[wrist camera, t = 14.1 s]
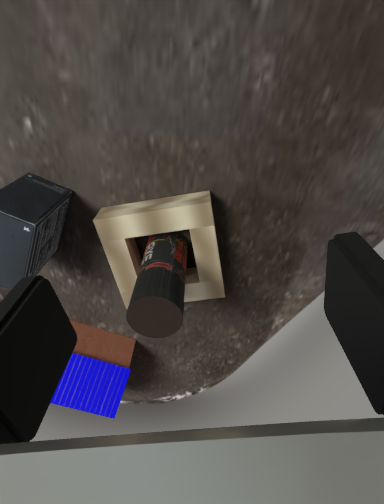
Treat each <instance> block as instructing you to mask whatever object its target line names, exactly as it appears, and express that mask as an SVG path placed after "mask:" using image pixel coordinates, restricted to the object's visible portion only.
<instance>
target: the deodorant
mask: <svg viewBox="0 0 384 504" xmlns="http://www.w3.org/2000/svg"><path fill="white" fill-rule="evenodd" d="M187 250H188V246H187V241H186V239H185V237H184V236H183V235H182V234H181V233H179V232H178V231H173V232H166V233H159V234H152V235H151V236H150V237H149V240H148V243H147V246H146V249H145V253H144V256H143V259H142V263H141V266H140V269H139V273H138V276H137V279H136V283H135V286H134V289H133V293H132V296H131V299H130V303H129V306H128V309H127V316H126V318H127V321H128V323H129V325H130V326H131V328H132V329H134V330H135V331H136V332H137V333H139V334H141V335H143V336H147V337H151V338H164V337H167V336H170V335H172V334H174V333H175V332H177V331H178V330H179V329H180V327H181V325H182V321H183V310H184V295H185V280H186V265H187Z"/></svg>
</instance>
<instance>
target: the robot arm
mask: <svg viewBox="0 0 384 504" xmlns="http://www.w3.org/2000/svg"><path fill="white" fill-rule="evenodd" d="M324 310H325V314H326V317H327V319H328V321H329V323H330V325H331V326H332V328H333V330H334V332H335V334H336V336H337V338H338V340H339V342H340V344H341V346H342V348H343V350H344V352H345V354H346V356H347V358H348V360H349V361H350V364H351V366H352V368H353V370H354V371H355V373H356V375H357V377H358V379H359V381H360V383H361V385H362V387H363V389H364V391H365V393H366V395H367V397H368V399H369V401H370V402H371V405H372V406H373V408H374V410H375V412H376V413H378V414H383V415H384V260H383V259H382V258H381V257H380V256H379V255H378V254H377V253H376V252H375V250H374V249H373V248H372V247H371V246H370V245H369V244H368V243H367V242H366V241H365V240H364V239H363V238H362V237H361V236H360V235H359V234H358V233H357V232H350V233H343V234H336V235H335V236H334V239H333V240H329V242H328V251H327V266H326V281H325V298H324ZM76 344H77V334H76V332H75V330H74V328H73V326H72V324H71V322H70V320H69V318H68V316H67V314H66V312H65V311H64V309H63V307H62V305H61V303H60V301H59V299H58V297H57V295H56V293H55V291H54V289H53V287H52V286H51V284H50V282H49V280H47V279H44V277H42V276H40V275H38V276H31V277H24V278H22V279H20V280H19V282H18V283H17V284H16V285H15V286H14V288H13V289H12V290H11V291H10V292H9V293H8V295H7V296H6V297H5V298H4V299H3V300H2V302H1V303H0V504H384V418H368V419H349V420H331V421H311V422H310V421H309V422H295V423H280V424H265V425H250V426H236V427H221V428H208V429H194V430H193V429H192V430H180V431H165V432H151V433H138V434H125V435H111V436H99V437H98V436H97V437H85V438H71V439H59V440H48V441H35V442H29V441H30V440H32V439H33V438H34V437H35V435H36V433H37V431H38V429H39V426H40V424H41V422H42V420H43V417H44V415H45V413H46V410H47V409H48V406H49V404H50V402H51V400H52V397H53V395H54V393H55V391H56V388H57V386H58V384H59V382H60V380H61V377H62V375H63V373H64V371H65V368H66V366H67V364H68V362H69V360H70V357H71V355H72V353H73V351H74V348H75V346H76Z"/></svg>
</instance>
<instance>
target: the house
mask: <svg viewBox="0 0 384 504" xmlns="http://www.w3.org/2000/svg"><path fill="white" fill-rule="evenodd" d="M70 322H71V324H72V326H73V328H74V330H75V332H76V334H77V344H76V346H75V348H74V351H73V353H72V355H71V357H70V360H69V362H68V364H67V366H66V368H65V371H64V373H63V375H62V377H61V380H60V382H59V384H58V386H57V388H56V391H55V393H54V395H53V397H52V400H51V402H50V403H53V404H57V405H62V406H66V407H70V408H74V409H78V410H82V411H86V412H90V413H94V414H98V415H102V416H106V417H110V418H114V417H115V414H116V412H117V409H118V406H119V403H120V400H121V397H122V394H123V392H124V389H125V386H126V383H127V380H128V377H129V374H130V371H131V369H129V367H130V362H131V358H132V354H133V350H134V345H135V341H136V340H135V339H131V338H128V337H125V336H122V335H118V334H115V333H112V332H108V331H105V330H102V329H98V328H95V327H92V326H89V325H85V324H82V323H79V322H75V321H72V320H70Z"/></svg>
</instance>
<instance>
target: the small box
mask: <svg viewBox="0 0 384 504" xmlns="http://www.w3.org/2000/svg"><path fill="white" fill-rule="evenodd" d="M72 193H73V192H72V191H71V190H69V189H67V188H63V187H62V186H59V185H56V184H54V183H51V182H49V181H47V180H44V179H42V178H41V177H38V176H35V175H32V174H30V173H27V174H26V175H24V176H22V177H20V178H19V179H17V180H15V181H14V182H12V183H10V184H9V185H7V186H5V187H4V188H2V189H0V286H1V287H4V288H7V289H10V290H12V289H13V288H14V286H15V285H16V284H17V283H18V282H19V280H20V279H22V278H24V277H31V276H36V275H37V274H38V272H39V271H40V270H41V269H42V267H43V266H44V265H45V264H46V263H47V261H48V260H49V259H50V258H51V257H52V256H53V255H54V253H55V252H56V251H57V250H58V246H59V243H60V239H61V235H62V232H63V228H64V224H65V220H66V217H67V213H68V209H69V205H70V201H71V197H72Z"/></svg>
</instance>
